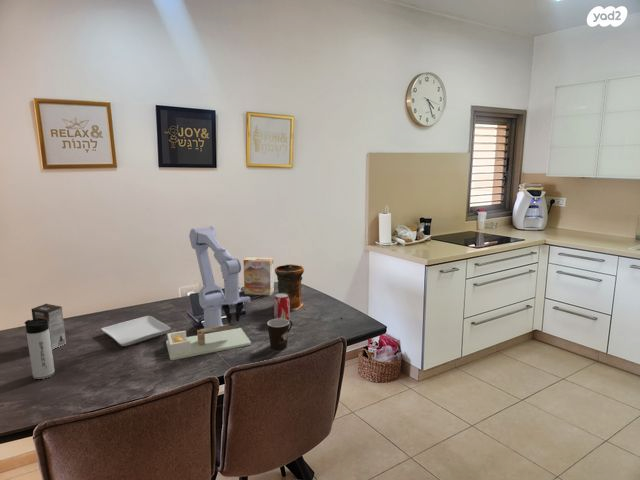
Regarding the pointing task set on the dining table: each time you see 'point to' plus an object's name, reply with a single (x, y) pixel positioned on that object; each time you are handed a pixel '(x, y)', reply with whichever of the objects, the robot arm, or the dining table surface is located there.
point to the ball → (177, 340)
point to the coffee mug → (278, 333)
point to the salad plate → (136, 330)
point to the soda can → (281, 306)
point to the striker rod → (216, 328)
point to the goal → (178, 343)
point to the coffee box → (52, 322)
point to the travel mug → (40, 348)
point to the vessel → (290, 283)
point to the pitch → (214, 343)
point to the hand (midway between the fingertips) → (233, 321)
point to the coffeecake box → (258, 276)
